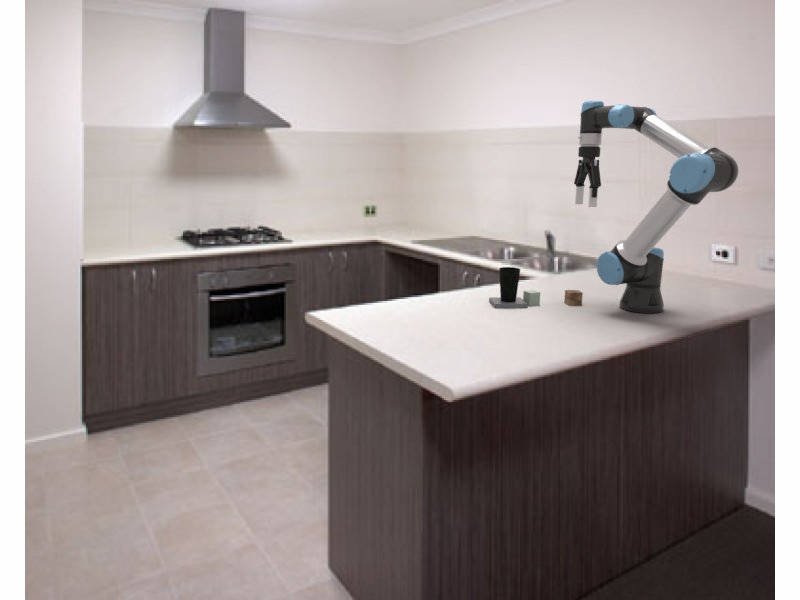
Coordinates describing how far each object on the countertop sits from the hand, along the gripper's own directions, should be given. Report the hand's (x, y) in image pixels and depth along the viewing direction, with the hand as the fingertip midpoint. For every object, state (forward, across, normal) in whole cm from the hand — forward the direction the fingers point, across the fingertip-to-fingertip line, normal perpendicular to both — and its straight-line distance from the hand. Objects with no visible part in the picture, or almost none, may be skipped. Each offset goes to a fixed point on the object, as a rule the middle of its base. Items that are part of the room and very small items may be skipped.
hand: (585, 205), depth 233 cm
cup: (+35, +2, -28) cm, 45 cm away
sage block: (+37, +2, -19) cm, 41 cm away
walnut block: (+37, +2, -3) cm, 37 cm away
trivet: (+37, +2, -28) cm, 46 cm away
